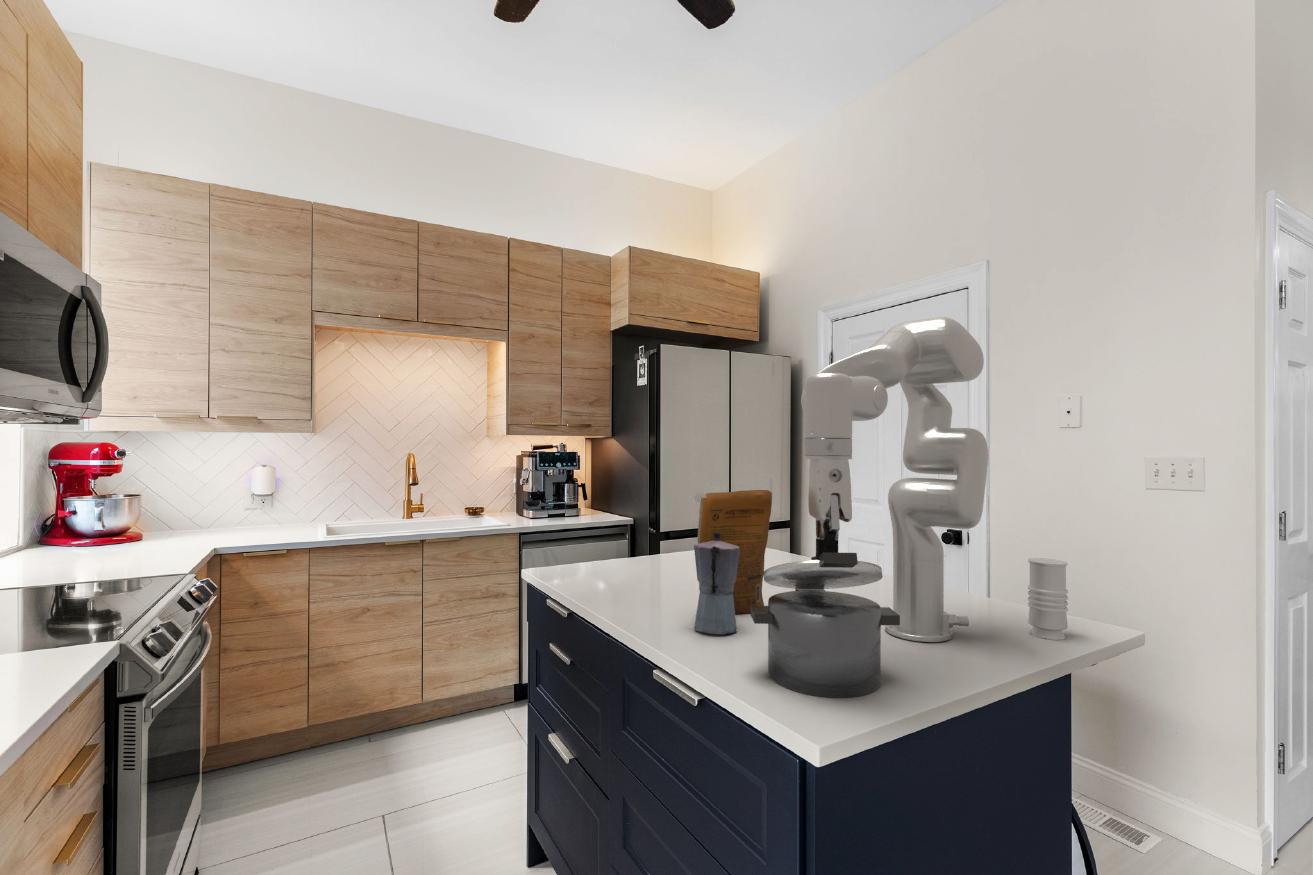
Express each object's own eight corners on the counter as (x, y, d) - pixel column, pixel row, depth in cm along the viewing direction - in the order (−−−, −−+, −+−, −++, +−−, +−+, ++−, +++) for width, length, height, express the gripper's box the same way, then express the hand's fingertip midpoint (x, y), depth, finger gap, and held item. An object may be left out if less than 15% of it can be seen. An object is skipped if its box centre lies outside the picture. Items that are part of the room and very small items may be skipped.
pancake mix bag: (778, 613, 140) (779, 490, 141) (700, 619, 135) (701, 491, 135) (765, 605, 147) (765, 488, 147) (690, 611, 141) (690, 489, 141)
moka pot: (738, 620, 134) (738, 528, 134) (741, 643, 119) (741, 539, 119) (694, 619, 135) (695, 528, 135) (691, 641, 120) (692, 538, 120)
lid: (757, 588, 112) (756, 568, 114) (863, 589, 112) (861, 569, 113) (776, 562, 92) (774, 538, 93) (906, 563, 91) (902, 540, 93)
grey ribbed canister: (1068, 634, 126) (1068, 560, 126) (1067, 642, 120) (1066, 565, 120) (1029, 628, 130) (1029, 556, 130) (1026, 636, 124) (1026, 561, 124)
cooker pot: (873, 654, 113) (873, 588, 113) (915, 699, 93) (915, 619, 93) (744, 652, 113) (745, 587, 114) (759, 696, 94) (760, 617, 94)
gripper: (865, 450, 92) (864, 573, 92) (838, 450, 107) (838, 556, 107) (814, 449, 92) (813, 572, 92) (795, 449, 107) (794, 555, 107)
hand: (826, 563), depth 99 cm, fingers closed
